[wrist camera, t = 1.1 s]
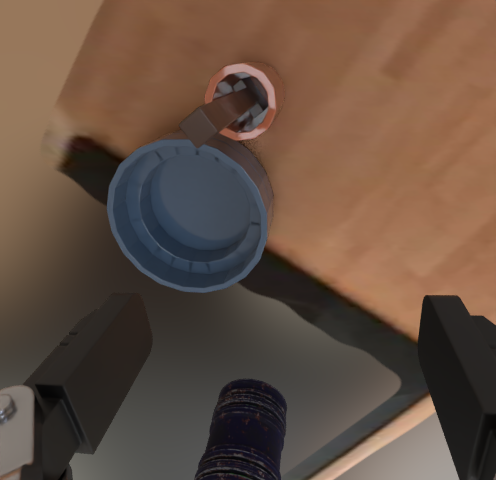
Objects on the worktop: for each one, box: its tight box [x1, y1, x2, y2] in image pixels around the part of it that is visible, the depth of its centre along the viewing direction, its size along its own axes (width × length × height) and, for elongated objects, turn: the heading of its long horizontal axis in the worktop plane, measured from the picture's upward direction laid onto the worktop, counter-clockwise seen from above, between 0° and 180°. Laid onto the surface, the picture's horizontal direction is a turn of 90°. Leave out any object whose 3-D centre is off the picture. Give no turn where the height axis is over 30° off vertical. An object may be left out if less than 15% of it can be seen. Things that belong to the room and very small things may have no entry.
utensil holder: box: [204, 62, 285, 141], centre depth 30 cm, size 5×5×8 cm
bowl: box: [107, 129, 273, 293], centre depth 36 cm, size 15×15×6 cm
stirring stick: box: [179, 77, 268, 148], centre depth 25 cm, size 3×1×18 cm, turn 38°
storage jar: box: [194, 379, 287, 480], centre depth 45 cm, size 10×10×15 cm
